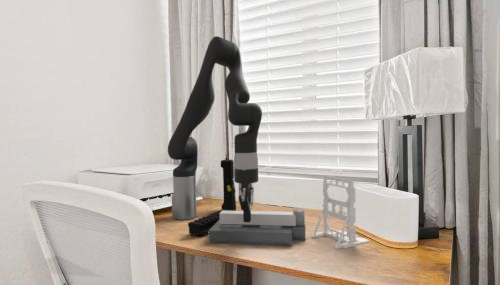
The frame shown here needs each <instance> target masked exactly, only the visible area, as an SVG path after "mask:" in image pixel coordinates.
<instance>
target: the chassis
mask: <svg viewBox="0 0 500 285" xmlns="http://www.w3.org/2000/svg"><path fill="white" fill-rule="evenodd" d="M208 233H209V235H208V243H209V244H221V245H222V244H223V245H224V244H225V245H249V246H251V245H252V246H274V247H275V246H278V247H280V246H281V247H293V242H294V241H306V224H305V225H303V226H280V225H243V224H220V219H219V220H218V222H217V223H216V224H215V225H214V226H213V227H212V228H211V229H210V230H209V231H208Z"/></svg>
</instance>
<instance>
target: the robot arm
mask: <svg viewBox="0 0 500 285" xmlns="http://www.w3.org/2000/svg"><path fill="white" fill-rule="evenodd" d="M241 57H242V56H241V51H240V48H239V46H238V45H237V43H235V42H233V41H230V40H228V39H226V38H223V37H221V36H217V35H216V36H213V37H212V38H211V39H210V41H209V43H208V45H207V48H206V50H205V53H204V57H203V61H202V64H201V67H200V71H199V73H198V76H197V79H196V81H195V83H194V86H193V88H192V90H191V92H190V94H189V98H188V100H187V102H186V105H185V108H184V111H183V113H182V114H181V117H180V120H179V123H178V124H177V126H176V128H175V129H174V132H173V133H172V136H171V138H170V139H169V141H168V145H167V154H168V157H169V158H170V159H171V160H175V161H177V160H178V161H179V160H180V162H179V165H177V166H176V167H175V168H173V170H172V186H173V191H172V192H173V194H172V195H171V216H172V219H175V220H180V221H181V220H182V221H184V220H192V219H196V218H197V217H198V216H197V215H198V214H197V213H198V211H197V175H196V172H197V169H198V159H199V158H198V155H199V150H198V143H197V141H196V139H195V138H194V137H192V136H191V135H192V133H193V131H194V130H195V129H196V128H197V127H198V126H199V125H200V124H201V123H202V122H203V121H204V120H206V118H207V117H208V115H209V114H210V111H211V110H212V107H213V105H214V102H215V96H216V95H215V89H214V84H213V71H214V68H215V64H217V65H219V66H222V67H226V68H227V69H228V70H229V73H228V74H227V76H226V78H225V81H224V88H225V92H226V95H227V100H228V113H227V119H228V121H229V122H230V123H231V125H232V126H236V127H237V126H239V127H240V126H242V127H243V126H248V128H247V130H245V132H240V133H238V134H235V135H234V143H233V144H234V155H233V156H234V157H233V161H234V179H233V180H234V183H236V184H240V188H239V190H238V191H239V192H238V193H239V196H238V201H239V204H240V209H241V210H240V211H243V221H244V222H250V221H251V211H252V208H253V204H254V202H253V201H254V191H255V189H254V187H253V184H256V183H257V182H259V158H258V141H257V140H258V134H259V131H260V130H259V129H260V125H261V123H262V118H263V111H262V108H261V106H260V105H259V104H258V103H255V102H254V103H253V102H249V101H250V99H251V95H250V92H249V89H248V87H247V84H246V80H245V77H244V72H243V64H242V58H241Z"/></svg>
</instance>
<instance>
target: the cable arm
mask: <svg viewBox="0 0 500 285" xmlns="http://www.w3.org/2000/svg"><path fill="white" fill-rule="evenodd" d="M220 211H221V210H220ZM305 220H306V218H305V210H304V209H294V210H293V211H262V210H261V211H257V210H255V211H254V210H251V221H250V222H244V221H243V210H236V211H221V212H220V224H243V225H280V226H303V225H305V226H306V221H305Z"/></svg>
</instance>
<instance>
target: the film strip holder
mask: <svg viewBox="0 0 500 285" xmlns="http://www.w3.org/2000/svg"><path fill="white" fill-rule="evenodd" d="M328 180H330V182H328ZM333 181H335V183H333ZM339 182H341V183H342V184H341V185H340V184H339ZM345 183H347V185H345ZM354 184H355V183H354V179H348V178H342V177H337V176H330V175H326V174H324V175H323V181H322V194H323V203H322V210H321V213H320V216H319V218H318V221H317V224H316V226H315V228H314V232H313V234H311V235H310V238H311V239H317V238H321V237H324V236H326V237H329V238H331V239H334V240H335V241H338V242H337V244H335V245H334V249H335V250H339V249H344V250H346V249H349V248H355V246H359V245H365V244H368V243H370V239H367V238H365V237H362V236H361V237H360V236H359V235H358V234H357V232H356V230H357V229H356V227H355V223H356V218H357V216H356V207H354V206H355V203H356V187H354V186H355V185H354ZM329 186H333V187H338V188H342V189H345V190H346V193H347V196H348V197H347V199H346V201H344V200H341V199H336V198H331V197H330V196H329V192H328V189H329ZM329 204H331V209H329ZM336 205H337V206H338V207H339V208H338V209H339V210H338V212H337V211H336ZM344 208H346V214H344V211H343V210H344ZM323 214H324V215H323ZM330 216H331V217H334V218H336V219H339V220H342V221H345V222H344V225H343V227H342V229H339V230H337V229H333V228H331V227H330V225H329V222H328V220H329V217H330ZM322 217H323V231H318V230H319V226H320V223H321V221H322ZM346 227H348V229H347V231H346Z"/></svg>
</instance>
